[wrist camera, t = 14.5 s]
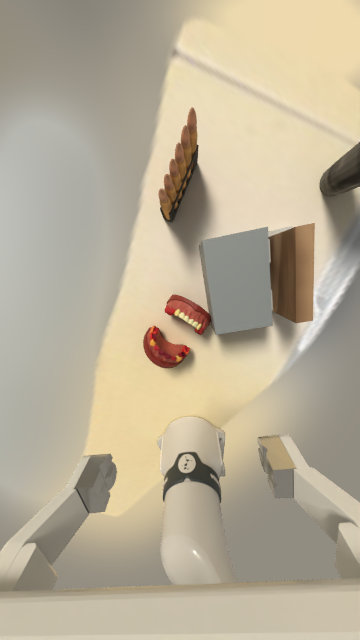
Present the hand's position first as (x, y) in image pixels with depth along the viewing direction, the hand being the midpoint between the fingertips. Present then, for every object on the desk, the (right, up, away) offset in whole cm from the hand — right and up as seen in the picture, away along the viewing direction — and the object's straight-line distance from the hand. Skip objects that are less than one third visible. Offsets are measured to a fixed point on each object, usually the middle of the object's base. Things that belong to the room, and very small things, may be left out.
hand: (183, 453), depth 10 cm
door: (+18, +16, +26) cm, 36 cm away
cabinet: (+14, +16, +27) cm, 34 cm away
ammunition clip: (0, +31, +24) cm, 39 cm away
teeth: (-1, +6, +31) cm, 32 cm away
